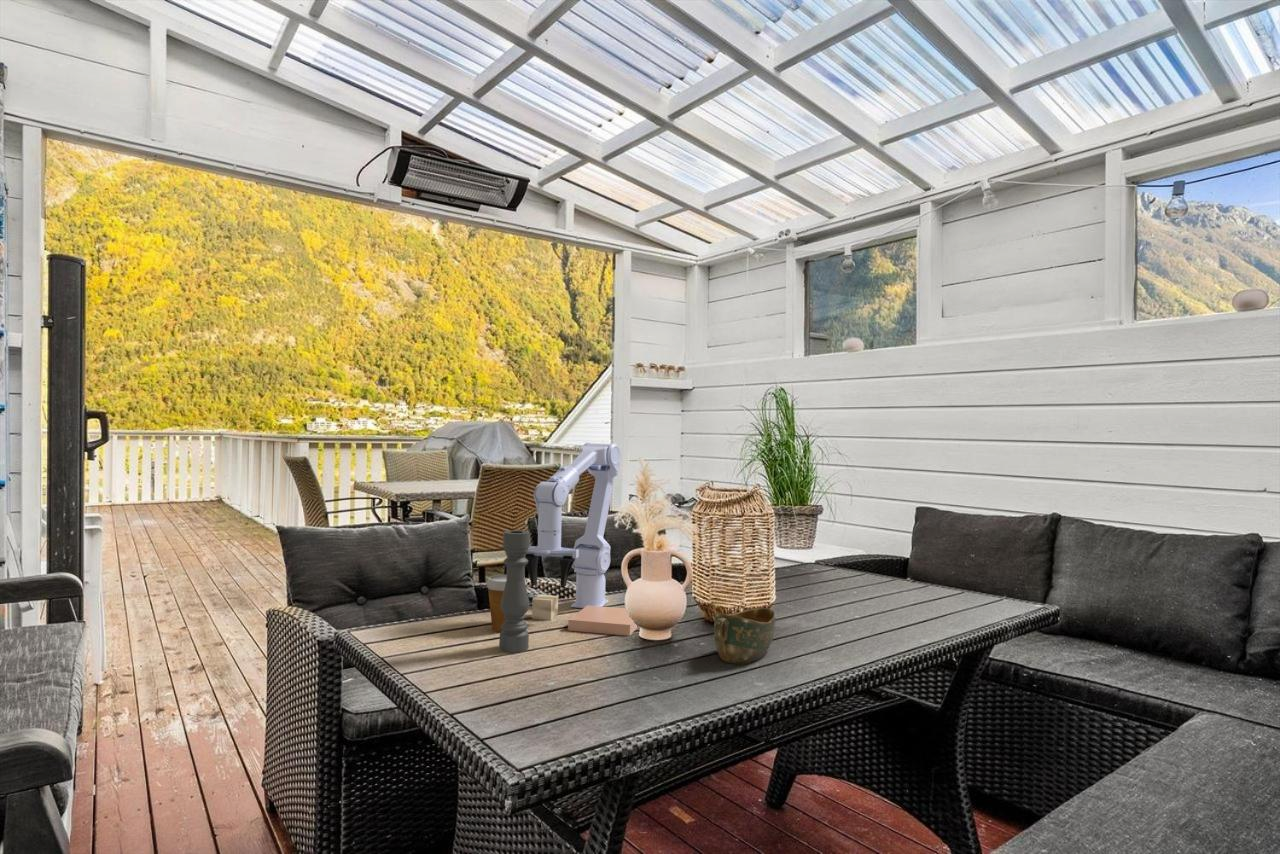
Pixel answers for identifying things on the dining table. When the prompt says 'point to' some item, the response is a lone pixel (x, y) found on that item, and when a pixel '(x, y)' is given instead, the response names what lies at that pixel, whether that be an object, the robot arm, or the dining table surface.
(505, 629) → the candle holder
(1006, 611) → the dining table surface
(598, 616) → the terracotta base
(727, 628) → the creamer
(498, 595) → the disposable coffee cup
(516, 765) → the dining table surface
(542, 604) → the birch block
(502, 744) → the dining table surface
